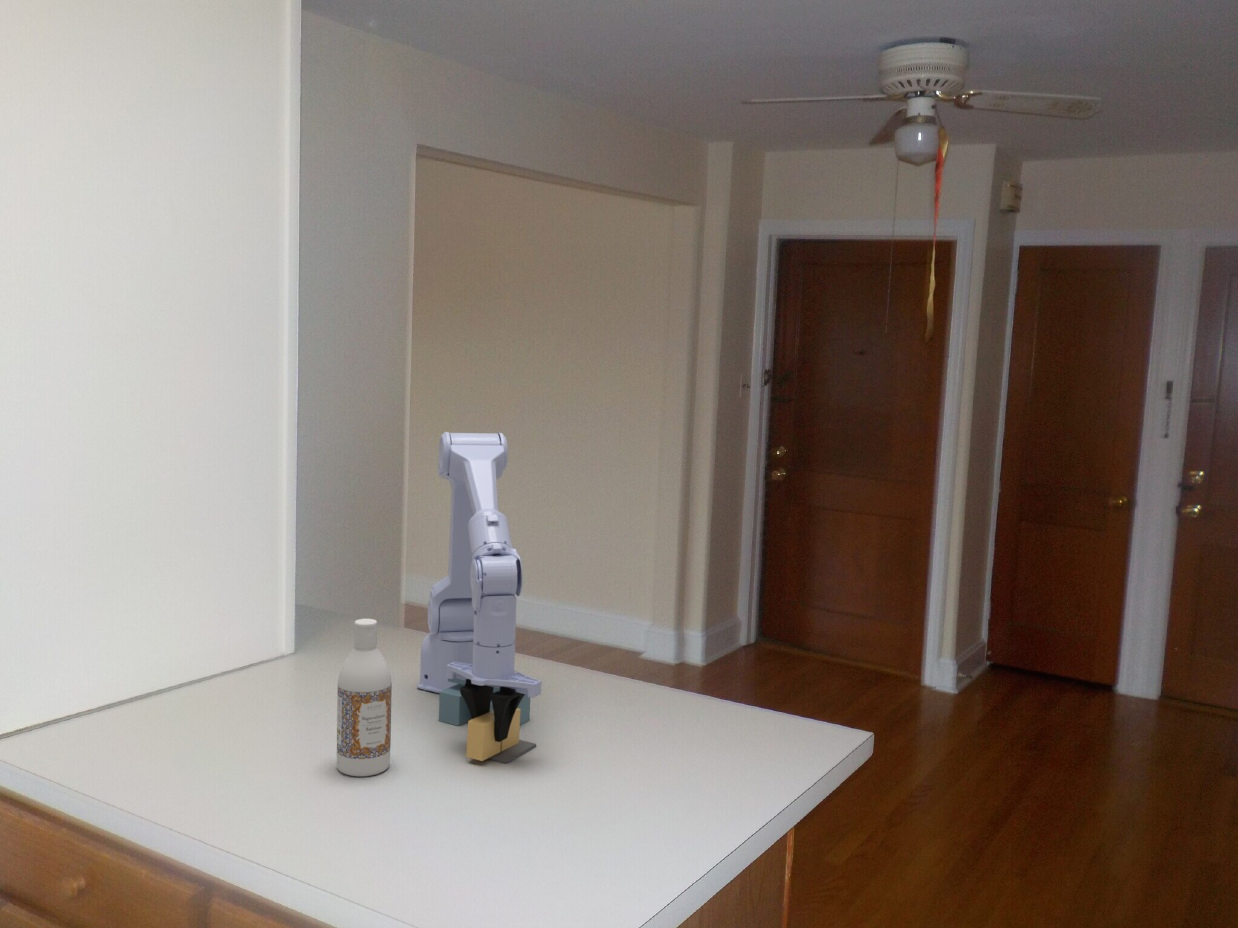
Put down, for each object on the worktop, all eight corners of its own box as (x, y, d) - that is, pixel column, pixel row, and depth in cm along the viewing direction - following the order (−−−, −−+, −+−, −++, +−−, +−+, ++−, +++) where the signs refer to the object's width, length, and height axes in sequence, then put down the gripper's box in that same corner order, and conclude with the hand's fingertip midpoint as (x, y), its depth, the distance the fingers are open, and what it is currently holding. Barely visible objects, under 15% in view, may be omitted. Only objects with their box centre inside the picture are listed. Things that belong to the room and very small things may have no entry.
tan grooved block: (465, 756, 148) (467, 720, 148) (503, 739, 156) (505, 705, 156) (482, 760, 147) (484, 724, 147) (518, 743, 155) (520, 708, 154)
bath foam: (347, 781, 140) (349, 630, 138) (329, 762, 146) (331, 617, 144) (398, 771, 144) (400, 624, 142) (378, 753, 150) (381, 612, 148)
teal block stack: (438, 720, 163) (439, 679, 163) (470, 705, 170) (471, 666, 170) (499, 736, 158) (500, 693, 158) (529, 720, 165) (530, 679, 165)
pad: (471, 753, 151) (471, 750, 151) (501, 737, 158) (501, 734, 158) (506, 763, 149) (507, 760, 148) (536, 746, 155) (536, 743, 155)
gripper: (433, 639, 149) (431, 734, 151) (522, 657, 142) (519, 757, 144) (464, 627, 155) (462, 719, 157) (551, 645, 149) (547, 741, 150)
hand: (491, 736), depth 151 cm, fingers closed on tan grooved block, 3 cm apart
